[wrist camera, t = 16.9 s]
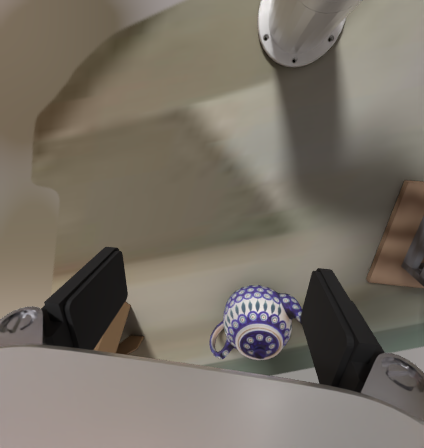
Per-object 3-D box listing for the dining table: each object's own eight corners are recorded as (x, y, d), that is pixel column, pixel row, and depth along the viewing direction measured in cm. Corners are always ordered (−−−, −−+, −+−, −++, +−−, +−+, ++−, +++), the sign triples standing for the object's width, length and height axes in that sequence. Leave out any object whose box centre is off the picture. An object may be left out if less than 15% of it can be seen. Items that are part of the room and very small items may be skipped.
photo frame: (72, 326, 69) (-11, 425, 46) (119, 295, 62) (48, 395, 39) (108, 356, 73) (47, 462, 50) (157, 330, 65) (111, 440, 43)
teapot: (227, 335, 63) (222, 393, 50) (197, 296, 59) (184, 348, 45) (317, 306, 55) (340, 365, 42) (290, 258, 51) (307, 307, 38)
